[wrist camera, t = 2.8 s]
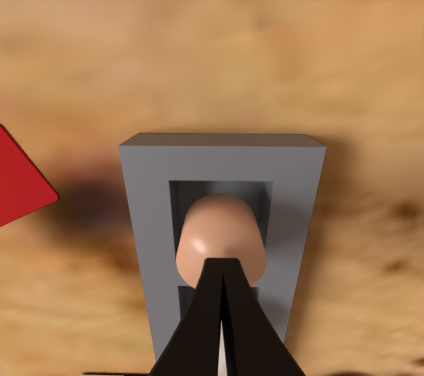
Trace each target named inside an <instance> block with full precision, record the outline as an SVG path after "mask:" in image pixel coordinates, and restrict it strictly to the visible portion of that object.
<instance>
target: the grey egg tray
mask: <svg viewBox="0 0 424 376" xmlns="http://www.w3.org/2000/svg"><path fill="white" fill-rule="evenodd" d="M118 147H119V152H120V158H121V164H122V170H123V175H124V181H125V187H126V192H127V198H128V204H129V210H130V215H131V221H132V227H133V232H134V238H135V244H136V250H137V255H138V261H139V267H140V272H141V278H142V284H143V289H144V295H145V301H146V307H147V312H148V318H149V324H150V329H151V335H152V341H153V347H154V352H155V358H156V362H157V361H158V359H159V357H160V356H161V354H162V352H163V351H164V349H165V347H166V346H167V344H168V342H169V340H170V339H171V337H172V335H173V333H174V331H175V330H176V328H177V326H178V324H179V322H180V320H181V318H182V316H183V314H184V312H185V310H186V308H187V306H188V304H189V302H190V300H191V297H192V295H193V293H194V290H195V288H193V287H191V286H190V285H189V284H188V283H186V282H185V281H184V280H183V278H182V277H181V275H180V274H179V272H178V269H177V265H176V256H177V251H178V247H179V243H180V238H181V234H182V230H183V225H184V221H185V217H186V214H187V212H188V210H189V208H190V207H191V205H192V204H193V203H194V202H196V201H197V200H198V199H200V198H202V197H204V196H206V195H210V194H214V193H226V194H231V195H234V196H237V197H239V198H241V199H242V200H244V201H245V202H246V203H247V204H248V205H249V206H250V207H251V209H252V210H253V212H254V215H255V218H256V222H257V225H258V229H259V232H260V236H261V239H262V242H263V246H264V249H265V253H266V258H267V262H266V268H265V271H264V273H263V275H262V276H261V278H260V279H259V280H258V281H257V282H256V283H255V284H254V285H253V286H251V289H252V291H253V293H254V295H255V296H256V298H257V300H258V302H259V304H260V306H261V308H262V309H263V311H264V313H265V315H266V316H267V318H268V320H269V321H270V323H271V325H272V326H273V328H274V330H275V331H276V333H277V334H278V336H279V338H280V339H281V341H282V342H283V343H284V339H285V334H286V330H287V325H288V321H289V316H290V311H291V307H292V302H293V298H294V293H295V289H296V284H297V280H298V275H299V270H300V266H301V261H302V257H303V252H304V248H305V243H306V238H307V234H308V229H309V225H310V220H311V216H312V211H313V207H314V202H315V197H316V193H317V188H318V184H319V179H320V175H321V170H322V166H323V161H324V156H325V152H326V146H324V145H322V144H321V143H319V142H317V141H315V140H314V139H312V138H310V137H308V136H307V135H305V134H179V133H138V134H136V135H134V136H133V137H131V138H130V139H128V140H126V141H125V142H123V143H122V144H120V145H118Z"/></svg>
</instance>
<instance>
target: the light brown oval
mask: <svg viewBox="0 0 424 376" xmlns="http://www.w3.org/2000/svg"><path fill="white" fill-rule="evenodd" d="M206 258H238V259H239V260H240V263H241V266H242V268H243V271H244V273H245V276H246V278H247V280H248V282H249V284H250V287H251V286H253V285H254V284H255V283H256V282H257V281H258V280H259V279H260V278H261V276H262V275H263V273H264V271H265V268H266V262H267V258H266V253H265V249H264V246H263V242H262V239H261V236H260V232H259V229H258V225H257V222H256V218H255V215H254V212H253V210H252V209H251V207H250V206H249V205H248V204H247V203H246V202H245V201H244V200H242V199H241V198H239V197H237V196H234V195H231V194H226V193H214V194H210V195H206V196H204V197H202V198H200V199H198V200H197V201H196V202H194V203H193V204H192V205H191V207H190V208H189V210H188V212H187V214H186V217H185V221H184V225H183V230H182V234H181V238H180V243H179V247H178V251H177V256H176V265H177V269H178V272H179V274H180V275H181V277H182V278H183V280H184V281H185V282H186V283H188V284H189V285H190V286H191V287H193V288H196V286H197V283H198V280H199V278H200V275H201V272H202V268H203V264H204V260H205V259H206Z"/></svg>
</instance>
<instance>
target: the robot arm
mask: <svg viewBox="0 0 424 376" xmlns="http://www.w3.org/2000/svg"><path fill="white" fill-rule="evenodd" d="M221 320H222V330H223V340H224V350H225V360H226V370H227V376H306V375H305V374H304V372H303V371H302V370H301V368H300V367H299V366H298V364H297V363H296V361H295V360H294V358H293V357H292V356H291V354H290V353H289V351H288V350H287V348H286V347H285V345H284V344H283V342H282V341H281V339H280V338H279V336H278V334H277V333H276V331H275V330H274V328H273V326H272V325H271V323H270V321H269V320H268V318H267V316H266V315H265V313H264V311H263V309H262V308H261V306H260V304H259V302H258V300H257V298H256V296H255V295H254V293H253V291H252V289H251V287H250V284H249V282H248V280H247V278H246V276H245V273H244V271H243V268H242V266H241V263H240V260H239V259H238V258H206V259H205V260H204V264H203V268H202V272H201V275H200V278H199V280H198V283H197V286H196V288H195V290H194V293H193V295H192V297H191V300H190V302H189V304H188V306H187V308H186V310H185V312H184V314H183V316H182V318H181V320H180V322H179V324H178V326H177V328H176V330H175V331H174V333H173V335H172V337H171V339H170V340H169V342H168V344H167V346H166V347H165V349H164V351H163V352H162V354H161V356H160V357H159V359H158V361H157V362H156V364H155V365H154V367H153V368H152V370H151V371H150V373H149V375H148V376H218V365H219V350H220V335H221ZM80 376H122V375H80Z"/></svg>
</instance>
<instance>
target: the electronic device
mask: <svg viewBox="0 0 424 376" xmlns="http://www.w3.org/2000/svg"><path fill="white" fill-rule="evenodd" d="M58 199H59V196H58V194H57V193H56V191H55V190H54V189H53V188H52V186H51V185H50V184H49V183H48V181H47V180H46V179H45V178H44V177H43V175H42V174H41V173H40V172H39V170H38V169H37V168H36V167H35V165H34V164H33V163H32V162H31V161H30V159H29V158H28V157H27V156H26V154H25V153H24V152H23V151H22V149H21V148H20V147H19V146H18V145H17V143H16V142H15V141H14V140H13V138H12V137H11V136H10V135H9V134H8V132H7V131H6V130H5V129H4V127H3V126H2V125H1V124H0V226H2V225H5V224H7V223H9V222H11V221H13V220H16V219H18V218H20V217H22V216H24V215H27V214H29V213H31V212H33V211H35V210H38V209H40V208H42V207H44V206H46V205H49V204H51V203H53V202H55V201H57V200H58Z"/></svg>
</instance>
